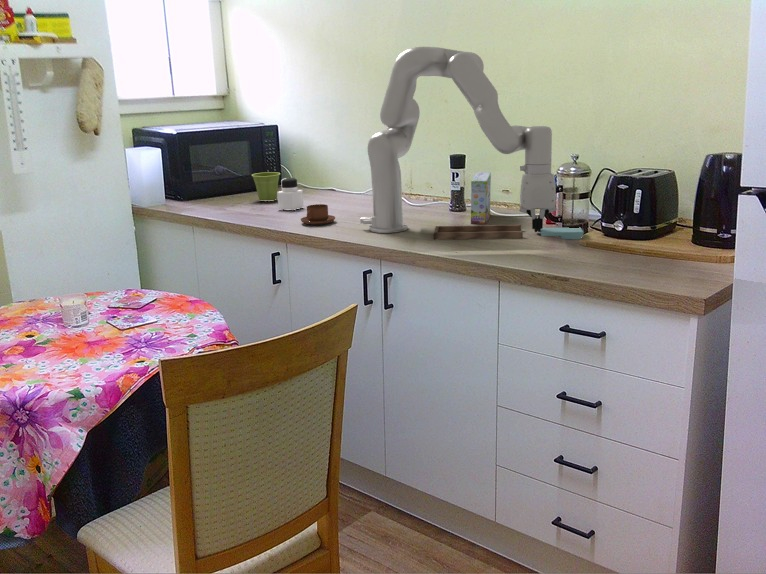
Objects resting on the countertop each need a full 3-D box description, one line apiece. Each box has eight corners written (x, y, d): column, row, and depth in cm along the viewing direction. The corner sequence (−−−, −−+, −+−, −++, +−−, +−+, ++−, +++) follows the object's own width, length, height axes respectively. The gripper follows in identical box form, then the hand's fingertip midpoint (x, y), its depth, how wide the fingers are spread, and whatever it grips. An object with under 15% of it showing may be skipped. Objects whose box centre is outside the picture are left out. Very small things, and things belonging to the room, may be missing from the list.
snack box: (487, 227, 240) (487, 180, 236) (470, 227, 241) (469, 180, 237) (491, 214, 260) (491, 171, 256) (475, 214, 261) (474, 171, 257)
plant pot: (250, 203, 306) (247, 176, 303) (259, 198, 317) (256, 172, 314) (277, 203, 304) (275, 175, 301) (286, 198, 315) (283, 171, 312)
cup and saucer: (330, 227, 252) (329, 209, 251) (296, 227, 255) (295, 209, 253) (339, 220, 264) (338, 202, 262) (306, 220, 266) (305, 203, 264)
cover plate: (541, 241, 220) (541, 232, 219) (539, 236, 226) (539, 227, 226) (583, 240, 218) (583, 232, 217) (580, 235, 225) (580, 227, 224)
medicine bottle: (304, 208, 290) (301, 177, 286) (292, 211, 284) (290, 180, 281) (289, 207, 293) (287, 176, 290) (278, 210, 288) (275, 179, 284)
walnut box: (434, 242, 222) (433, 233, 221) (436, 235, 232) (435, 226, 231) (522, 241, 218) (522, 231, 218) (520, 233, 228) (520, 224, 227)
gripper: (512, 172, 215) (512, 234, 220) (565, 170, 213) (564, 233, 218) (511, 168, 222) (511, 229, 227) (562, 167, 220) (561, 228, 225)
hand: (537, 231), depth 222 cm, fingers closed
